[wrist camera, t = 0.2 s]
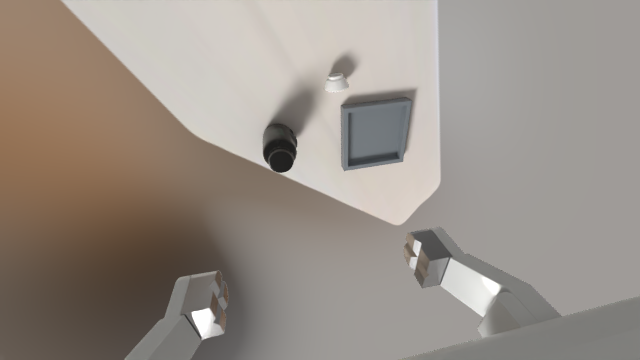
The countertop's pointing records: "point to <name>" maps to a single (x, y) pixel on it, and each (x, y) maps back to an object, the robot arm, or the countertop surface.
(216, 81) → the countertop surface
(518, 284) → the robot arm
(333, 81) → the small white bowl
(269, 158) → the supplement bottle
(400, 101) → the tray
